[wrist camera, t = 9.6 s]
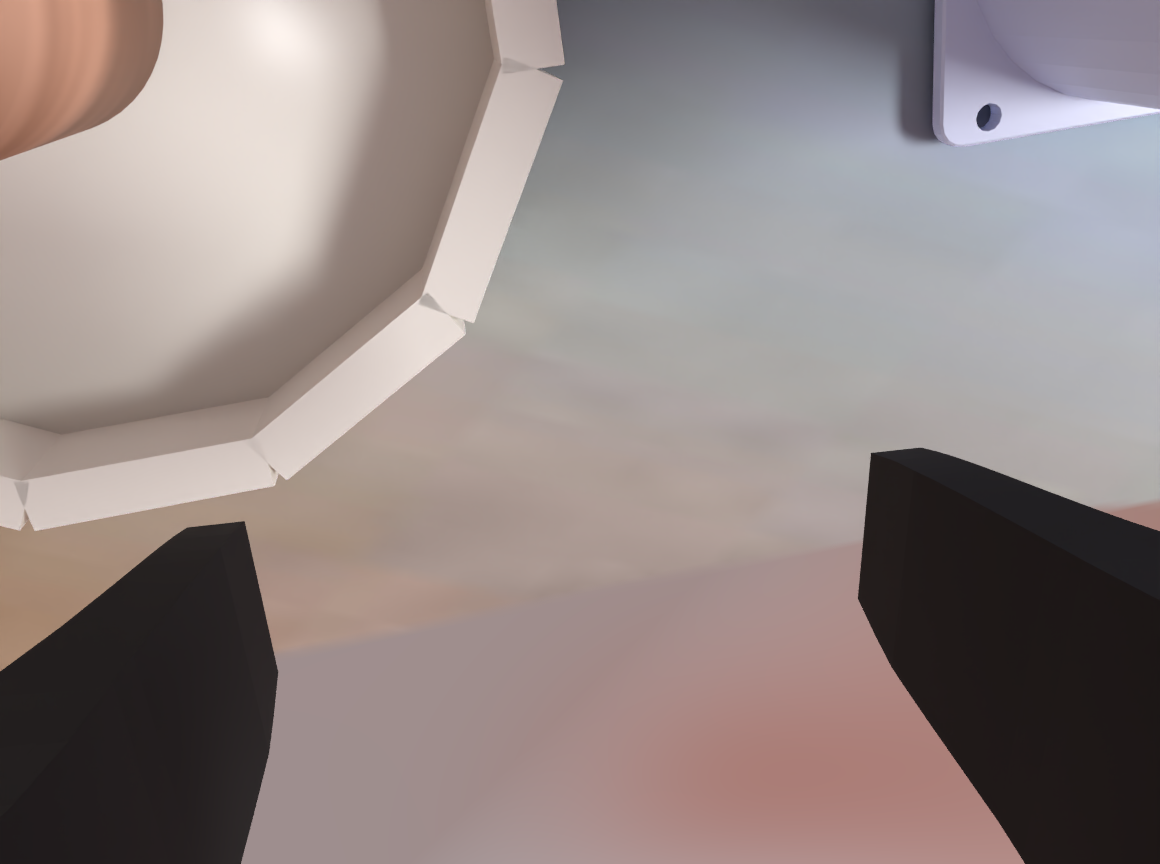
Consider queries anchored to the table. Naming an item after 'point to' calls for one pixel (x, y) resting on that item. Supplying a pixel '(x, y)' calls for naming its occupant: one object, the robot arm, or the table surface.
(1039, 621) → the robot arm
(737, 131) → the table surface
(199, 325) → the round tray
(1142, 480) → the table surface
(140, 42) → the brown rounded cylinder
